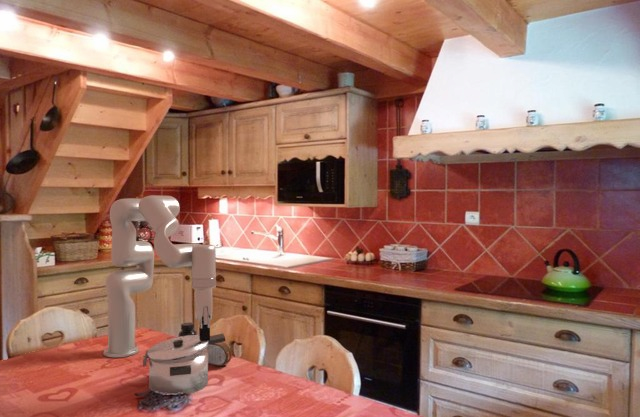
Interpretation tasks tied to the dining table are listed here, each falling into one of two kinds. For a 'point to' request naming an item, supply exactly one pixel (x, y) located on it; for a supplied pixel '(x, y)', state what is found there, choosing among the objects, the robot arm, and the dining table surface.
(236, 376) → the dining table surface
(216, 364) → the tin
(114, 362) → the dining table surface
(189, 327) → the supplement bottle
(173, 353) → the cooker lid
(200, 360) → the cooker pot
